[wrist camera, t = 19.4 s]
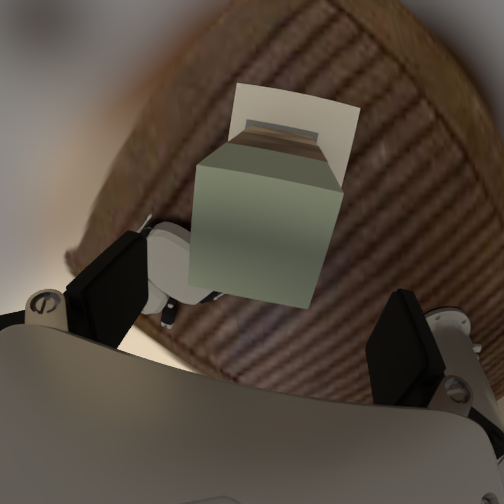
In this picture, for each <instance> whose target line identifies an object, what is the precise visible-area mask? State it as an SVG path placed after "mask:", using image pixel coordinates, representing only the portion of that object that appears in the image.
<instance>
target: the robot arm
mask: <svg viewBox="0 0 504 504" xmlns="http://www.w3.org/2000/svg"><path fill="white" fill-rule="evenodd" d="M66 289H67V290H66V291H65V292H64V293H63V294H62V293H61V292H59V291H57V290H54V289H44V290H41V291H38V292H36V293H34V294H33V295H32V296H31V297H30V298H29V299H28V300H27V303H26V308H25V310H22V311H18V312H13V313H9V314H4V315H0V504H504V420H503V417H502V415H501V412H500V409H499V407H498V404H497V402H496V399H495V397H494V394H493V392H492V390H491V387H490V385H489V382H488V380H487V378H486V376H485V373H484V371H483V369H482V367H481V365H480V362H479V356H478V354H476V353H475V352H480V350H481V344H473V343H472V341H471V339H470V337H469V334H470V329H471V326H470V321H469V319H468V317H467V315H466V314H465V313H464V312H463V311H462V310H460V309H457V308H452V307H448V308H441V309H437V310H434V311H431V312H429V313H427V314H425V315H424V313H423V311H422V309H421V307H420V305H419V303H418V300H417V298H416V296H415V294H414V292H413V291H410V290H405V289H398V290H397V291H394V292H392V294H391V296H390V298H389V300H388V302H387V304H386V306H385V308H384V310H383V313H382V315H381V317H380V319H379V321H378V323H377V324H376V326H375V328H374V330H373V332H372V334H371V336H370V338H369V340H368V342H367V344H366V349H365V351H366V357H367V363H368V369H369V375H370V381H371V388H372V395H373V402H374V404H367V403H356V402H346V401H337V400H329V399H322V398H314V397H308V396H301V395H295V394H289V393H283V392H277V391H272V390H267V389H261V388H256V387H252V386H247V385H242V384H238V383H233V382H229V381H224V380H220V379H216V378H212V377H208V376H204V375H200V374H197V373H193V372H189V371H185V370H181V369H178V368H175V367H171V366H167V365H164V364H161V363H158V362H154V361H151V360H148V359H145V358H142V357H139V356H136V355H133V354H130V353H127V352H124V351H121V350H118V349H117V348H118V346H119V345H120V343H121V342H122V340H123V338H124V337H125V335H126V334H127V332H128V331H129V329H130V328H131V326H132V325H133V323H134V322H135V320H136V319H137V317H138V316H139V315H140V313H141V312H142V310H143V309H144V307H145V306H146V304H147V302H148V298H149V289H148V249H147V239H146V238H144V236H143V234H142V233H138V232H134V231H127V232H126V233H124V234H123V235H122V236H121V237H120V238H119V239H117V240H116V241H115V242H114V243H113V244H112V245H111V246H109V247H108V248H107V249H106V250H105V251H104V252H103V253H102V254H100V255H99V256H98V257H97V258H96V259H95V260H94V261H93V262H92V263H91V264H90V265H88V266H87V267H86V268H85V269H84V270H83V271H82V272H81V273H80V274H79V275H78V276H77V277H76V278H75V279H74V280H73V281H72V282H70V283H69V284H68V285H67V286H66Z"/></svg>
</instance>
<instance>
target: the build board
mask: <svg viewBox="0 0 504 504" xmlns="http://www.w3.org/2000/svg"><path fill="white" fill-rule="evenodd" d="M359 112H360V108H358V107H354V106H351V105H347V104H343V103H339V102H335V101H331V100H327V99H323V98H319V97H315V96H310V95H305V94H301V93H296V92H291V91H285V90H280V89H274V88H268V87H262V86H256V85H249V84H241V83H237V86H236V92H235V99H234V105H233V111H232V118H231V124H230V131H229V138H228V141H230V140H231V139H232V138H234V137H235V136H237V135H238V134H239V133H241V132H242V131H243V130H244V129H246V128H247V127H249V126H250V125H254V126H260V127H265V128H271V129H276V130H282V131H287V132H292V133H297V134H301V135H306V136H310V137H313V139H314V140H315V142H316V144H317V146H319V147H320V149H321V151H322V152H323V154H324V156H325V158H326V159H327V161H328V164H329V166H330V168H331V170H332V172H333V174H334V175H335V177H336V179H337V181H338V183H339V185H340V187H342V183H343V179H344V175H345V171H346V167H347V163H348V159H349V155H350V151H351V147H352V143H353V139H354V134H355V130H356V126H357V121H358V117H359Z"/></svg>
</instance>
